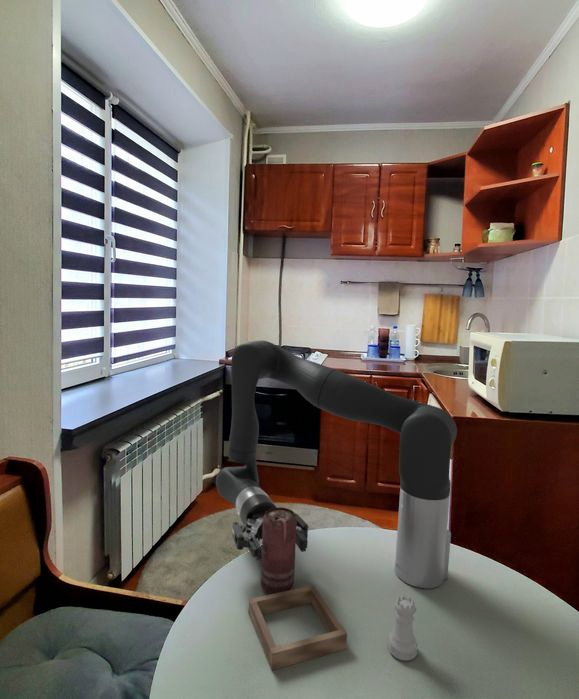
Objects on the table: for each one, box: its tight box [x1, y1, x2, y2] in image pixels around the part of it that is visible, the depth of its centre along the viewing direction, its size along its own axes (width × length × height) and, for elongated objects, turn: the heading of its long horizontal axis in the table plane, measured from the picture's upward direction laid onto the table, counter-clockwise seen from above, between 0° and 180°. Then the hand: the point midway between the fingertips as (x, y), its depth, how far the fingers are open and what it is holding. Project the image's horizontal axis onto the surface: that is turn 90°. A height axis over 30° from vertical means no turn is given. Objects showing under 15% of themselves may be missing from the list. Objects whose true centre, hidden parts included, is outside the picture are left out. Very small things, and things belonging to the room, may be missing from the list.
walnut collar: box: [247, 584, 348, 671], centre depth 67 cm, size 12×12×2 cm
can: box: [260, 507, 297, 595], centre depth 77 cm, size 6×6×14 cm
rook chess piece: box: [386, 595, 418, 662], centre depth 64 cm, size 4×4×8 cm
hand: (282, 550), depth 75 cm, fingers open, 8 cm apart
